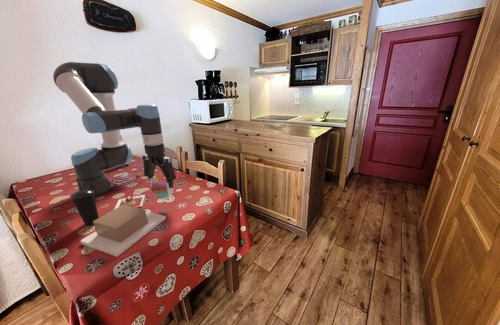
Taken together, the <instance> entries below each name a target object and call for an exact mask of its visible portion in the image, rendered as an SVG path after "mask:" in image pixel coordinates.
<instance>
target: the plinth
mask: <svg viewBox="0 0 500 325" xmlns="http://www.w3.org/2000/svg"><path fill="white" fill-rule="evenodd" d="M136 207H137V206H132V205H131V206H127V205H125V204H122V205H119V207H118V208H116V209H114V208H113V210H111V211H109V212H107V213H106V214H103V215H102V216H100V217H99V218H98V219H96V220H95V221H93V224H94V225H93V226H94V230H95V231H93V233H90V234H89V235H87V236H85V237H84V238H82V239H81V240H80V243H81V245H84V246H86V247H88V248H91V249H94V250H97V251H100V252H102V251H103V252H102V253H105V254H109V255H111V256H114V257H119V256H120V255H121V254H122V253H124V252H126V250H128V249H129V248H130V247H132V246H133V245H134V244H136V243H137V242H138V241H139V240H140V239H142V238H143V237H144V236H145V235H147V234H148V233H150V232H151V231H152V230H154V228H156V227H157V226H159V225H160V224H161V223H163V221H165V220H166V219H167V218H166V215H162V214H159V213H155V212H150V211H146V209H143V208H141V207H137V208H136Z"/></svg>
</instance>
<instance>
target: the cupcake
mask: <svg viewBox="0 0 500 325" xmlns="http://www.w3.org/2000/svg"><path fill="white" fill-rule="evenodd" d="M153 177H155V178H156V181H157V182H156V183H154V185H153V186H152V187H151V186H150V189H151V191H152V193H154V194H155V196H156V197H157V198H158V199H160V200H162V199H166V198H168V197H169V195H168V192H167V186H166V181H167V180H159V179H158V176H157V174H156V173H154V176H153Z"/></svg>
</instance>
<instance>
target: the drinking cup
mask: <svg viewBox="0 0 500 325" xmlns="http://www.w3.org/2000/svg"><path fill="white" fill-rule="evenodd" d="M76 183H77V187H78V186H79V189H80V190H79V191H78V190H76V191H75V192H73V193H71V194H70V195H69V199H71V200H72V203H73V204H74V206H75V208H76V210H77V212H78V214H79V216H80V218H81V219H82V222H83V223H84V226H86V227H90V226H94V224H93V221H95V220H96V219H98V218H100V217H99V212H98V207H97V201H96V196H94V190H93V189H82V188H81V185H80V182H79V179H78V178H77V177H76Z"/></svg>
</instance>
